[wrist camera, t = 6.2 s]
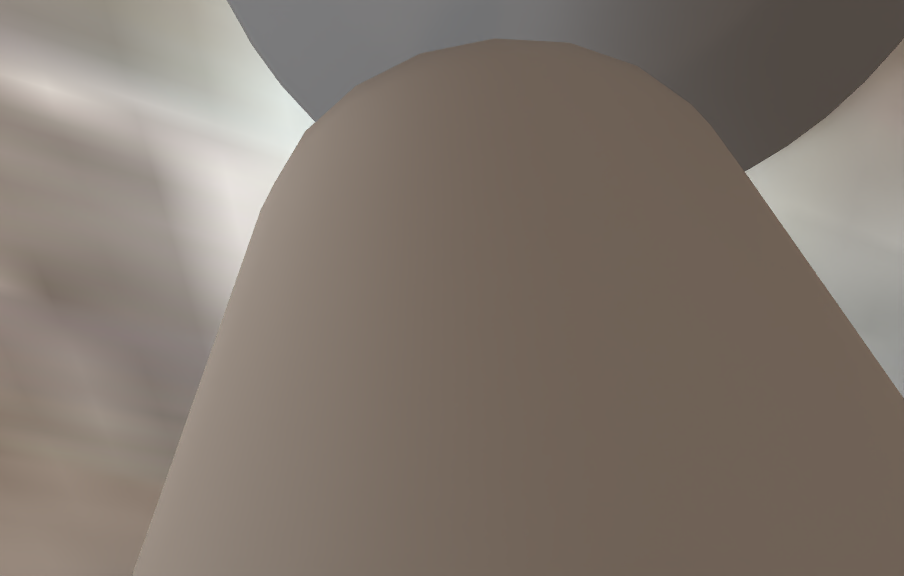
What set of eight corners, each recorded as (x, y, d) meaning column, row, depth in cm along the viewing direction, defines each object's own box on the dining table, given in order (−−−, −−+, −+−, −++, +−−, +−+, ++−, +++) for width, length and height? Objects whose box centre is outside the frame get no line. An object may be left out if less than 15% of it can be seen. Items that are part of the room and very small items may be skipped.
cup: (826, 79, 10) (1730, 887, 3) (599, 541, 16) (737, 1209, 9) (279, -29, 9) (-215, 772, 2) (243, 502, 15) (71, 1213, 8)
